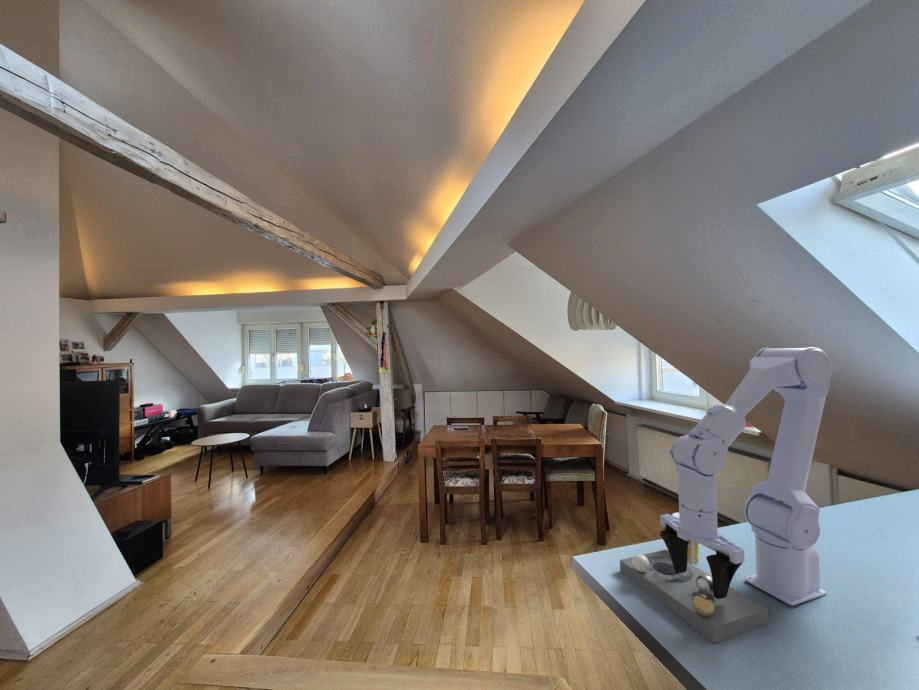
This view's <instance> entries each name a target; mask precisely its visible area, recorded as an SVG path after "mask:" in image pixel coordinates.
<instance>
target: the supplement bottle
mask: <svg viewBox="0 0 919 690" xmlns="http://www.w3.org/2000/svg"><path fill="white" fill-rule="evenodd" d="M672 516H674V517H677V518H679V512H673V513H672ZM699 559H700V558H699V543H697V542H694V541H691V540H689V544H688V551H687V562H688V563H690V564H695V565H697V564H698V563H699V562H698V561H699ZM696 563H697V564H696Z"/></svg>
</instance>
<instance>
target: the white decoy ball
mask: <svg viewBox="0 0 919 690" xmlns="http://www.w3.org/2000/svg"><path fill="white" fill-rule="evenodd" d="M632 557H633V559H632V563H633V566H634V568H635V569H636V570H638V571H640V572H646V571H647V570H648V569H649V566H650V564H649V561H648V559H647V558H646V557H645V556H644V554H641V553H637V554H635V555H634V556H632Z"/></svg>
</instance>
